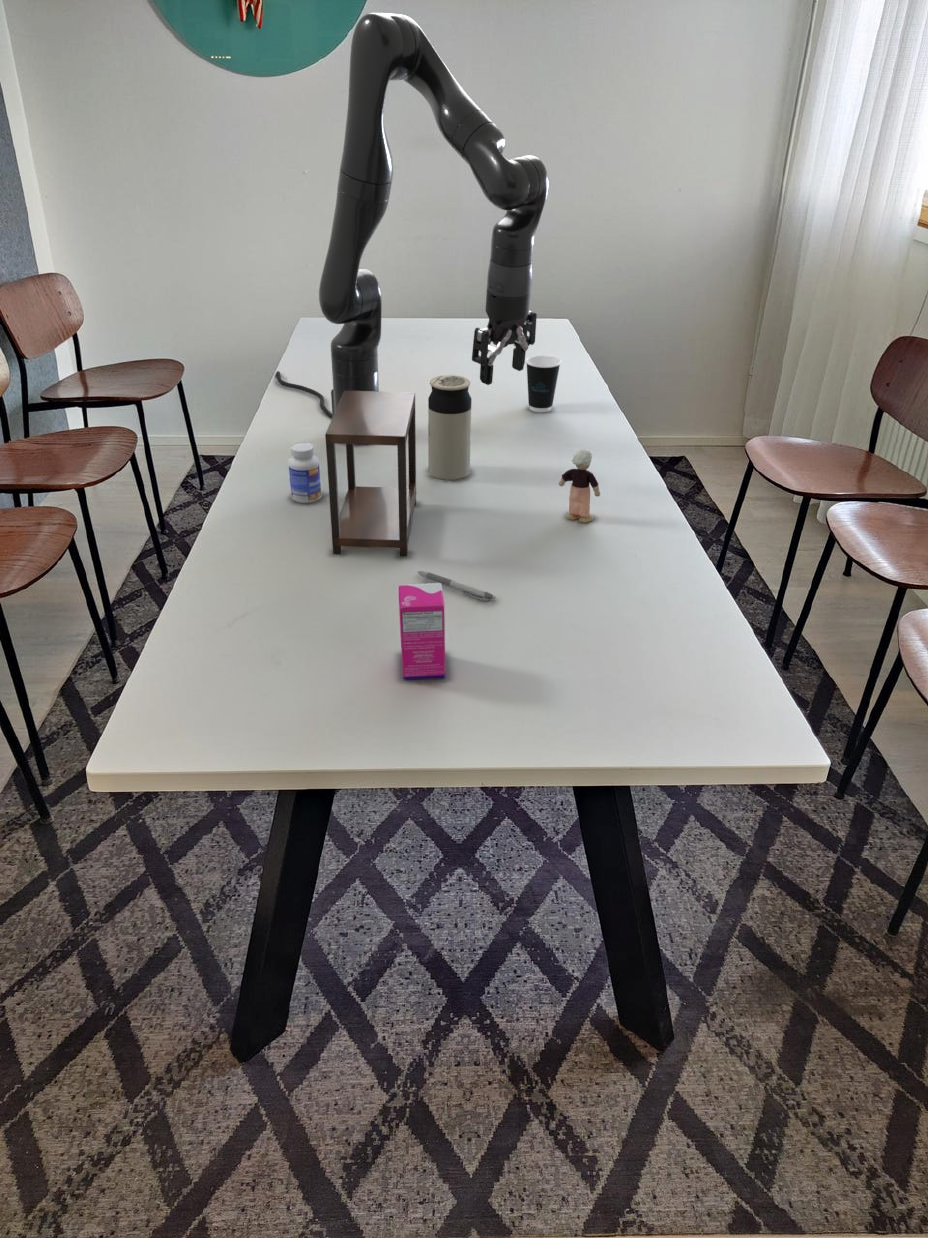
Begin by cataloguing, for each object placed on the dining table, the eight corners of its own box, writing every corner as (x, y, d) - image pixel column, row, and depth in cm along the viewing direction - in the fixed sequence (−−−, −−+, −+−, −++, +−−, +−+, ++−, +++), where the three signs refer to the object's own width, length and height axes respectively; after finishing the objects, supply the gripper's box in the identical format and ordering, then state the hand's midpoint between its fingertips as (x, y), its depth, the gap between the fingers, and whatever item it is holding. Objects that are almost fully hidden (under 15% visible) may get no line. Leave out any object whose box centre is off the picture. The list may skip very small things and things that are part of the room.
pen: (492, 604, 135) (493, 596, 135) (415, 578, 142) (415, 570, 141) (496, 601, 136) (496, 593, 135) (419, 575, 142) (419, 567, 142)
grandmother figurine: (600, 516, 161) (608, 448, 154) (596, 525, 158) (603, 457, 151) (558, 509, 163) (563, 442, 156) (553, 518, 160) (558, 450, 153)
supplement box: (399, 655, 124) (398, 582, 118) (443, 654, 124) (444, 581, 118) (401, 681, 119) (399, 606, 113) (446, 679, 119) (447, 605, 113)
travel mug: (476, 469, 177) (478, 378, 168) (459, 484, 171) (460, 390, 162) (439, 461, 180) (440, 371, 170) (421, 476, 174) (420, 383, 164)
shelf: (333, 554, 147) (325, 434, 136) (349, 501, 164) (344, 390, 153) (407, 556, 147) (405, 436, 136) (416, 503, 164) (415, 392, 153)
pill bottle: (315, 505, 162) (312, 454, 157) (287, 502, 163) (282, 451, 158) (325, 492, 167) (322, 442, 162) (297, 489, 168) (293, 439, 163)
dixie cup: (532, 416, 203) (535, 367, 197) (516, 405, 209) (519, 357, 203) (563, 412, 205) (567, 363, 199) (547, 401, 211) (551, 353, 205)
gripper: (519, 271, 160) (512, 358, 171) (464, 290, 152) (459, 380, 163) (552, 283, 156) (543, 371, 167) (497, 303, 148) (490, 395, 159)
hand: (502, 376), depth 165 cm, fingers open, 8 cm apart
